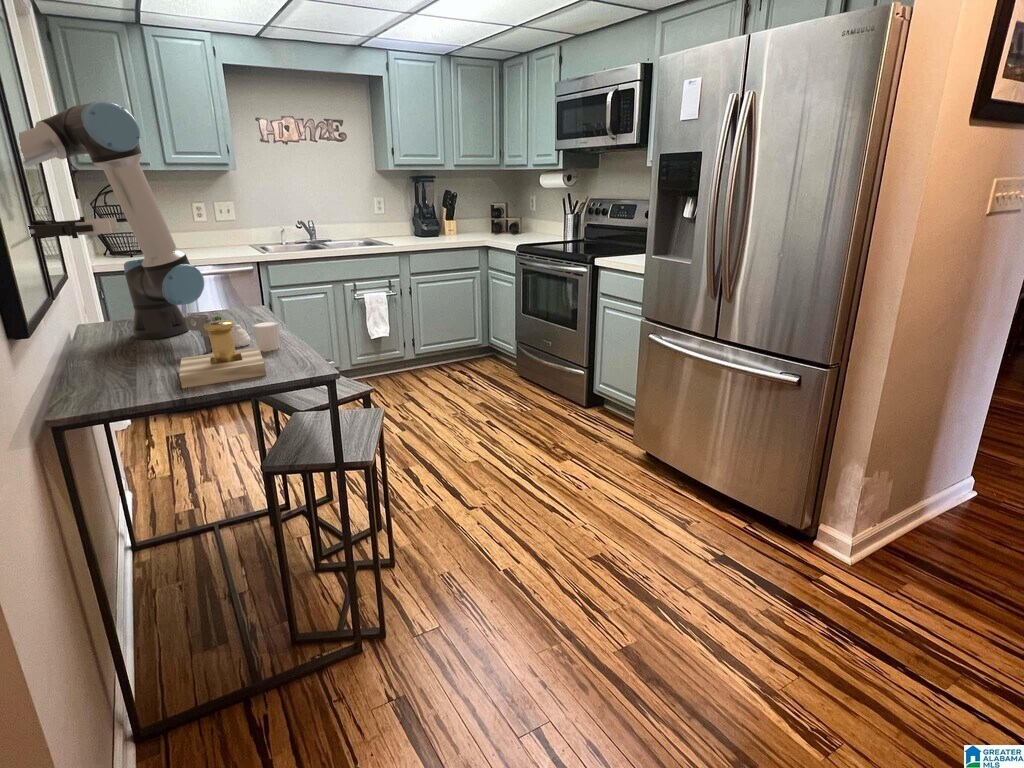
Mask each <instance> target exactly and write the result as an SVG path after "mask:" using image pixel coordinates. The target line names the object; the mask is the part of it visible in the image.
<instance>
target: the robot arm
mask: <svg viewBox="0 0 1024 768" xmlns="http://www.w3.org/2000/svg"><path fill="white" fill-rule="evenodd" d="M34 126H35V127H32V128H29V129H27V130H23V131H20V132H18V133H19V140H20V146H21V151H22V153H23V156H24V159H25V163H26V166H27V168H30V167H33V166H35V165H38V164H41V163H44V162H46V161H49V160H52V159H55V158H57V159H59V160H66V159H68V158H71V157H73V156H79V155H88V156H89V157H90V159H91V162H92V164H93V165H94V166H97V167H98V168H101V169H102V170H103V172H104V175H105V176H106V178H107V180H108V183H109V185H110V187H111V190H112V192H113V194H114V196H115V197H116V199H117V201H118V204H119V206H120V208H121V210H122V212H123V215H124V216H125V219H126V221H127V223H128V226H129V227H130V230H131V231H132V233H133V236H134V238H135V239H136V242H137V245H138V246H139V249H140V250H141V252H142V255H143V257H144V258H139V259H134V260H133V259H132V260H127V261H125V262H124V264H123V271H124V276H125V280H126V283H127V287H128V290H129V291H128V292H129V295H130V298H131V303H132V306H133V307H132V308H133V310H134V313H133V314H134V315H133V321H132V322H133V323H132V336H133V338H134V339H138V340H139V339H140V340H153V339H164V338H168V337H173V336H178V335H182V334H184V332H185V333H187V332H189V331H190V330H189V329H188V327H187V323H186V322H185V321H184V318H185V316H184V314H183V313H182V310H180V308H179V305H183V306H184V305H189V304H193V303H194V302H196V301H198V300H199V298H200V297H201V295H202V293H203V291H204V289H205V278H204V275H203V274H202V272H201V271H200V270H199V269H198V268H197V267H195V266H194V265H192V264H190V261H189V259H188V258H189V257H188V256H187V254H186V252H184V251H183V250H181V249H179V248H178V247H177V246H176V244H175V241H174V240H173V237H172V234H171V233H170V230H169V228H168V225H167V222H166V221H165V219H164V216H163V213H162V211H161V210H160V207H159V205H158V202H157V200H156V198H155V195H154V193H153V191H152V188H151V186H150V184H149V182H148V180H147V178H146V175H145V173H144V171H143V168H142V166H141V164H140V160H141V157H142V155H143V153H142V151H141V148H140V145H139V141H140V138H141V130H140V127H139V124H138V122H137V120H136V118H135V117H134V116H133V114H131V112H129V111H128V110H127V109H126V108H124V107H122V106H121V105H119V104H117V103H115V102H110V101H102V100H100V101H93V102H89V103H85V104H84V103H83V104H80V105H74V106H71V107H69V108H66V109H65V110H62V111H60V112H58V113H56V114H54V115H52V116H50V117H46V118H44V119H42V120H38V121H36V123H35V125H34ZM31 222H32V223H31V224H33V225H31V226H28V227H29V230H30V234H31V237H30V238H36V239H37V240H41V239H48V238H49V239H50V238H54V237H72V239H79V236H84V235H98V234H99V235H100V234H101V235H102V234H113V231H112V230H119V226H118V222H117V218H116V217H104V218H103V217H102V218H88V219H87V218H85V216H79V219H75V220H74V219H73V220H61V221H58V220H53V219H52V220H51V219H50V220H43V219H39V220H37V219H36V220H32V221H31ZM186 331H187V332H186Z"/></svg>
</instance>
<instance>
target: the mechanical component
mask: <svg viewBox="0 0 1024 768" xmlns="http://www.w3.org/2000/svg"><path fill="white" fill-rule="evenodd" d="M219 320H222V318H221V317H220V316H218V315H214V316H212V317H211V318H210V317H209V315H208V314H189V315H187V316H184V321H185V322H186V323H187V327H188V329H189V330H188V331H193V332H194V331H195V332H196V331H197V332H200V337H202V338H203V343H204V348H205V351H206V353H211V352H213V351H212V346H211V342H210V337H209V333H208V331H205V330H204V324H206V323H209V322H213V321H219Z"/></svg>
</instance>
